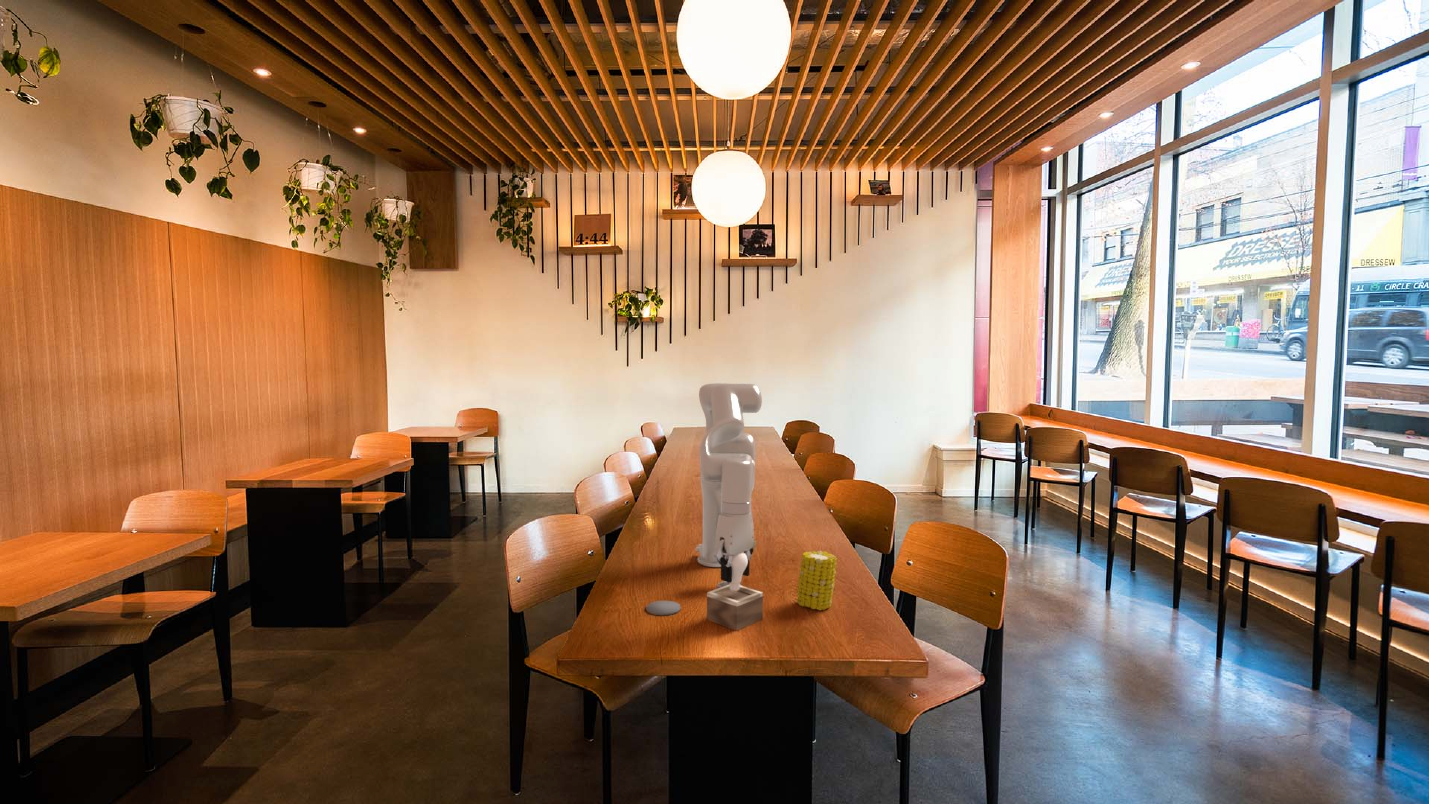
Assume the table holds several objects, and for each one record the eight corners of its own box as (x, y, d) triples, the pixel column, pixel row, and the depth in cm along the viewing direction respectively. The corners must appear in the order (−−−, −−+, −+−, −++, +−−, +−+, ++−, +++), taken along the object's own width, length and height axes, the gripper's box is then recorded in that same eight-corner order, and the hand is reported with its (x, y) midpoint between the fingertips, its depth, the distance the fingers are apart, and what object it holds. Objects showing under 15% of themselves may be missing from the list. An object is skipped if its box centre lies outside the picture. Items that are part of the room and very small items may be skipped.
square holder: (706, 619, 168) (707, 592, 168) (733, 609, 176) (733, 583, 175) (736, 630, 161) (736, 602, 161) (762, 619, 169) (762, 592, 168)
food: (792, 606, 182) (826, 606, 184) (806, 612, 171) (843, 611, 173) (791, 549, 185) (825, 549, 187) (806, 552, 173) (842, 551, 175)
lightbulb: (721, 588, 171) (723, 545, 170) (744, 588, 171) (746, 546, 171) (723, 596, 165) (725, 552, 164) (747, 596, 165) (749, 552, 165)
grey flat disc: (639, 611, 173) (639, 609, 173) (658, 600, 181) (658, 598, 181) (668, 618, 169) (668, 615, 169) (686, 606, 177) (686, 604, 177)
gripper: (747, 500, 176) (746, 567, 177) (701, 510, 163) (700, 582, 164) (769, 504, 170) (768, 573, 172) (724, 516, 158) (723, 590, 159)
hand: (735, 577), depth 168 cm, fingers open, 6 cm apart
